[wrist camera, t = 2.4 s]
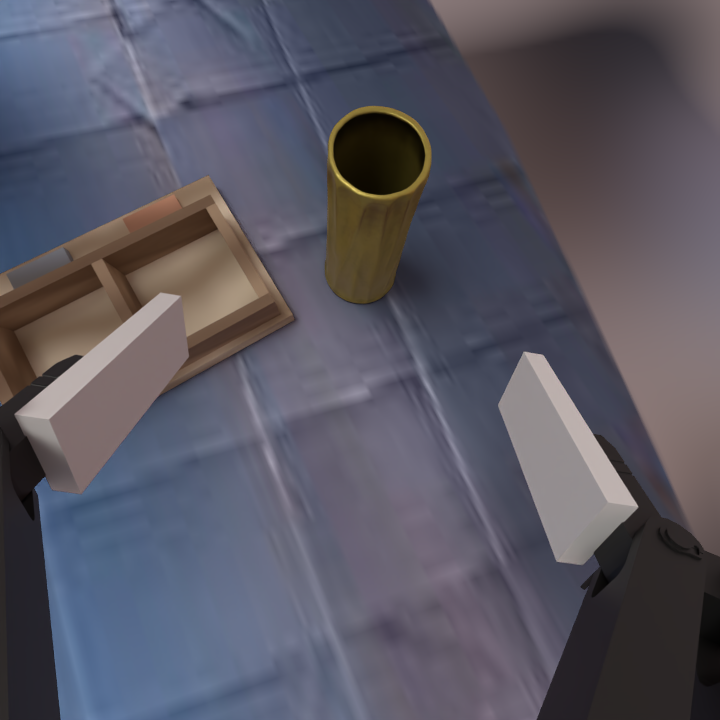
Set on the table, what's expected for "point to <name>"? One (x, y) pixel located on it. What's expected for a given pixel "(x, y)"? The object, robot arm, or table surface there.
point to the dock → (139, 288)
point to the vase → (372, 198)
